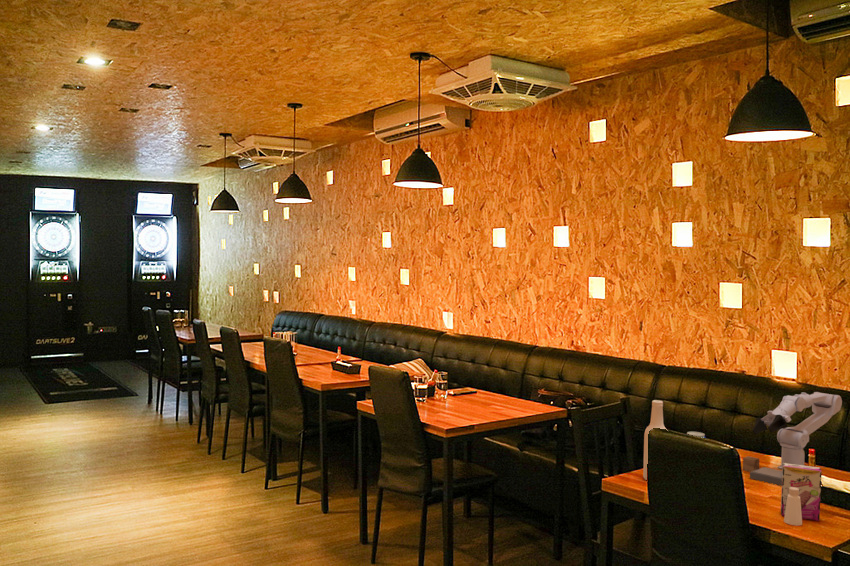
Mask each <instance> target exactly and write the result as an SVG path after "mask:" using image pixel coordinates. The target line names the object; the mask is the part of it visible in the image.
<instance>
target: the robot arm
mask: <svg viewBox="0 0 850 566" xmlns="http://www.w3.org/2000/svg"><path fill="white" fill-rule="evenodd" d="M842 404H843V400H842V396H840V395H839V394H831V393H830V394H829V393H824V392H819V391H814V392H813V393H811V394H809V393H807V392H800V394H797V393H796V394H794V395H789V394H788V395H784V396H783V397H782V400H781V402H780V403H779V405H778V406H776V408H774V409H773V410H768V411H767V412H766V413H767V414H766V415H765V416H763V417H762V418H761V417H756V418H755V423H754V426H753V427H752V429H751V430H752V432H753V434H754V435H758V434H760V433H762V432H763V431H768V430H769V432H770V433H775V432H776V431H777V434H776V439H777V442H778V443H779V446H781V459H780V460H781V461H780V463H781V464H780V465H778V466H776V468H777V469H780V470H782V467H783V463H789V464H796V465H804V466H805V457H806V456H805V454H806V453H805V450H804V449H805V447H806V446H807V444H808V443H809V442H810V435H811V434H812V433H814V432H815V431H817V430H819V429H820V427H823V425H825V424H826V423H828V422H829V420H830V419H831V418H832V417H833V416H834V415H836V414H837V413H839V412H840V411H841V409H842ZM806 408H807V409H808V408H811V411H812V413H813V414H811V415H810V416H808V417H807V418H805V419H804V420H803V421H801V422H800V423H799V424H797V425H795V426H788V424H787V423H790V422H791V421H792V418H791V417H792V416H793V415H794V414H795V413H796V412H802V411H804V409H806ZM767 426H768V427H767Z"/></svg>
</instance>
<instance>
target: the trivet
mask: <svg viewBox="0 0 850 566" xmlns="http://www.w3.org/2000/svg"><path fill="white" fill-rule="evenodd" d="M750 478H751V479H750ZM749 479H750V480H754V479H755V480H754V481H758V480H759V482H762V481H764V482H763V483H766V482H768V483H767V484H771V483H773V484H772V485H775V484H777V485H776V486H779V485H781V486H780V487H782V470H781V469H780V470H779V469H774V468H771V467H766V466H765V467H759V469H757V470H754V471H752V472H749Z"/></svg>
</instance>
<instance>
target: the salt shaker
mask: <svg viewBox="0 0 850 566" xmlns="http://www.w3.org/2000/svg"><path fill="white" fill-rule="evenodd" d="M798 494H799V489H798V488H795V487H790V488H789V495H788V496H787V502H786V509H785V516H783V517H784V519H783V522H784V523H786V524H787V525H791V526H802V525H803V519H802V514H801V501H800V496H798Z"/></svg>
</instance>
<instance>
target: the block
mask: <svg viewBox="0 0 850 566" xmlns="http://www.w3.org/2000/svg"><path fill="white" fill-rule="evenodd" d="M757 469H760V458H758V457H754V456H745V457H742V471H745V472H749V473H750V472H752V471H754V470H757Z"/></svg>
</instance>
